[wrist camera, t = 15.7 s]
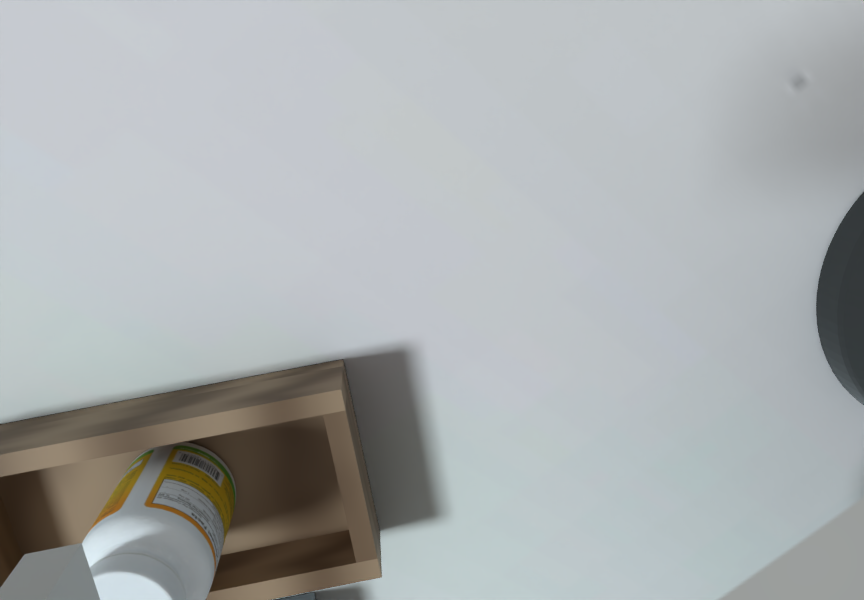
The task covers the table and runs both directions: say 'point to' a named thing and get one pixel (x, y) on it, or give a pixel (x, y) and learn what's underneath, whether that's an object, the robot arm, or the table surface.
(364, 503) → the trough
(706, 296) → the table surface
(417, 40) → the table surface
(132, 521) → the supplement bottle
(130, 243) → the table surface
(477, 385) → the table surface
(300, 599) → the grey stepped block
